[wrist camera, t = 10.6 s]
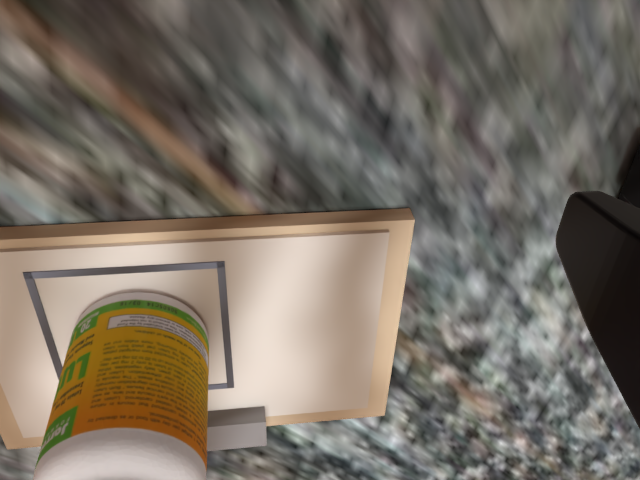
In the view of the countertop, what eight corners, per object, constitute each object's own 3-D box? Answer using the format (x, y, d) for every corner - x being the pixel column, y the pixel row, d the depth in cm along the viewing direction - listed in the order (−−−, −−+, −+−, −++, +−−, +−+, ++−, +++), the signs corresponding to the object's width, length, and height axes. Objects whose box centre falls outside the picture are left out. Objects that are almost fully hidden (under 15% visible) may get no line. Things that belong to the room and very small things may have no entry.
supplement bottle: (81, 276, 23) (9, 529, 15) (223, 299, 24) (224, 539, 17) (66, 372, 26) (0, 626, 18) (194, 387, 27) (183, 626, 19)
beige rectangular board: (409, 208, 24) (422, 236, 22) (381, 402, 31) (389, 434, 30) (-78, 230, 22) (-100, 263, 20) (12, 434, 29) (0, 470, 27)
